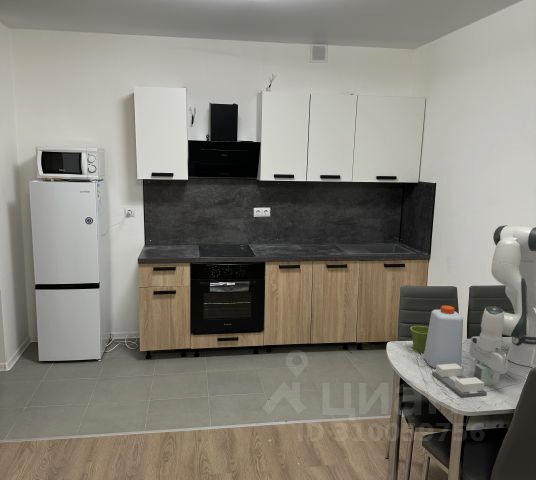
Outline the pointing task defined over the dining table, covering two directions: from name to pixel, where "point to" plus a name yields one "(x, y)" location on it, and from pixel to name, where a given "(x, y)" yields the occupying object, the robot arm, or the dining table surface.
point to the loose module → (485, 374)
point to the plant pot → (419, 338)
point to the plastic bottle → (444, 337)
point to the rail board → (452, 386)
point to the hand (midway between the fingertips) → (486, 374)
